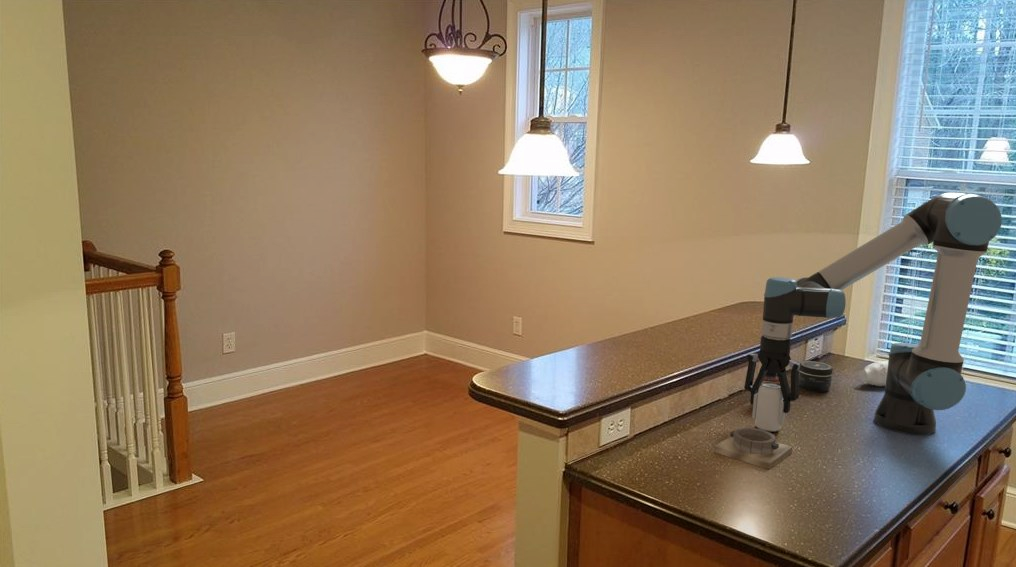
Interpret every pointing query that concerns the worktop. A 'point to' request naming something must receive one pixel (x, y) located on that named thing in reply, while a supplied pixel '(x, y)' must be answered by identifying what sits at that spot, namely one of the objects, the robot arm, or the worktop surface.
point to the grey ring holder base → (753, 447)
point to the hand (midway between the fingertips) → (768, 419)
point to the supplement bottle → (771, 377)
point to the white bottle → (874, 373)
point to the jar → (815, 376)
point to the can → (768, 406)
